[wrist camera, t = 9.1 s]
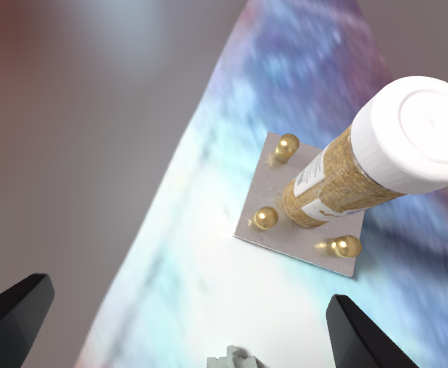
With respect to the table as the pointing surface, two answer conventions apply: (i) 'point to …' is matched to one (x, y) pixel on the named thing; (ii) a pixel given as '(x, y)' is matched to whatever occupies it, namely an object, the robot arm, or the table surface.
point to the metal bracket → (231, 360)
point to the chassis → (280, 222)
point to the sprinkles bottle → (377, 155)
